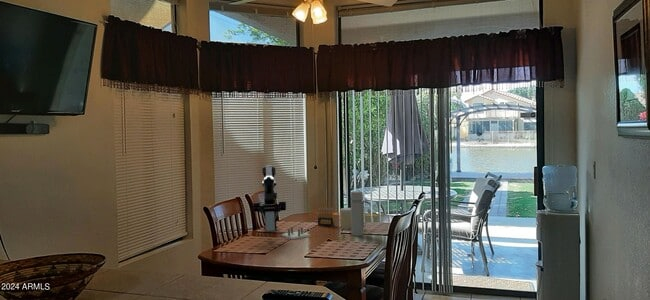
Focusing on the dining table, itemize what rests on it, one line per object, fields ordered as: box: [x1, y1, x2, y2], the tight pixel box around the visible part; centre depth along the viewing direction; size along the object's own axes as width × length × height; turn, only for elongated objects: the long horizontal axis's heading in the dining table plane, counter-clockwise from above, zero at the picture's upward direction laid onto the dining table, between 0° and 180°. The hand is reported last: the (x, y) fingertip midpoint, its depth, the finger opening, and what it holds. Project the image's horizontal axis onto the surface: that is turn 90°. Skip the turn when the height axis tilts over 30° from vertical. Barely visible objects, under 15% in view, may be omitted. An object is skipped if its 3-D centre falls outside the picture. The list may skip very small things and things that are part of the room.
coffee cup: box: [339, 207, 351, 230], centre depth 299 cm, size 9×9×12 cm
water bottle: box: [350, 190, 367, 237], centre depth 277 cm, size 9×8×25 cm
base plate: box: [281, 226, 311, 240], centre depth 279 cm, size 12×12×5 cm
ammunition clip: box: [317, 206, 335, 227], centre depth 310 cm, size 11×2×12 cm, turn 69°
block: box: [265, 211, 276, 232], centre depth 273 cm, size 5×5×10 cm
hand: (269, 218), depth 271 cm, fingers closed on block, 5 cm apart
